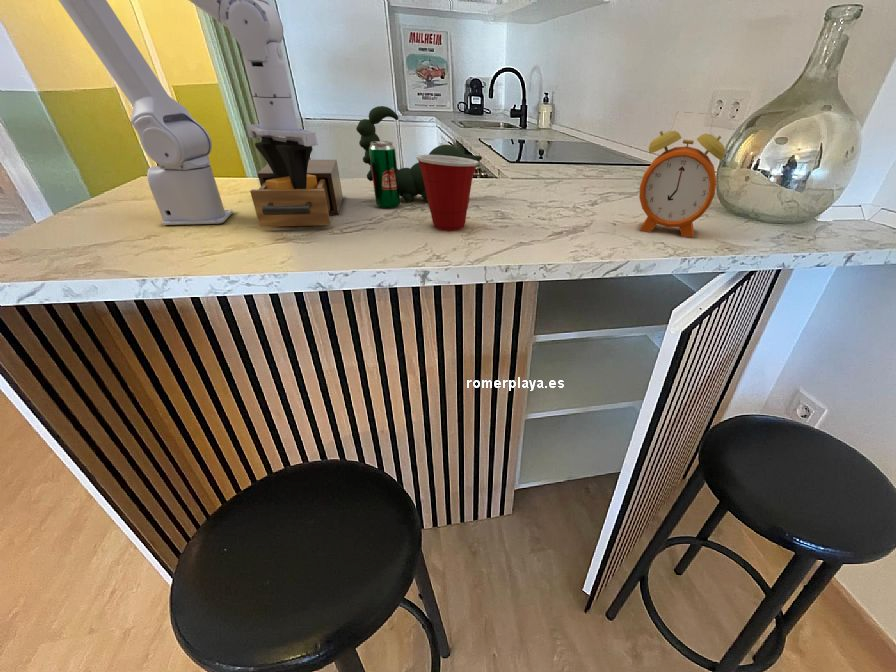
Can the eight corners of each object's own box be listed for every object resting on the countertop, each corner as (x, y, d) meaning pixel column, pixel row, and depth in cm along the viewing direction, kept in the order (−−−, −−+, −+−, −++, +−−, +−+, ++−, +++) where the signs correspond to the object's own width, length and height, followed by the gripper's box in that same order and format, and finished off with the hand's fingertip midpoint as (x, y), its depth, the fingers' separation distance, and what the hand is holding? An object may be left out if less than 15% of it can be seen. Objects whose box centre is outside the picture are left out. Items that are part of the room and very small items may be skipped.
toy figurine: (372, 212, 96) (487, 202, 98) (348, 110, 85) (479, 101, 87) (376, 201, 103) (483, 192, 106) (355, 106, 92) (475, 98, 94)
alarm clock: (631, 230, 87) (654, 111, 76) (635, 222, 92) (657, 109, 80) (701, 240, 84) (737, 116, 72) (702, 231, 89) (735, 114, 77)
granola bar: (282, 201, 76) (277, 182, 75) (269, 198, 78) (265, 180, 76) (319, 193, 82) (316, 175, 80) (307, 190, 83) (303, 173, 82)
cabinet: (338, 215, 87) (331, 173, 83) (268, 216, 85) (257, 173, 80) (343, 197, 99) (336, 159, 95) (281, 198, 96) (272, 159, 92)
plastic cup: (490, 227, 85) (491, 158, 78) (446, 239, 78) (443, 163, 71) (453, 215, 91) (450, 149, 84) (409, 225, 84) (403, 154, 77)
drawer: (327, 233, 75) (320, 196, 72) (254, 235, 73) (243, 197, 69) (335, 205, 90) (330, 174, 86) (274, 206, 87) (266, 174, 84)
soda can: (387, 210, 92) (379, 144, 85) (371, 205, 94) (362, 141, 87) (405, 206, 95) (399, 142, 88) (390, 201, 97) (383, 139, 90)
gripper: (219, 94, 71) (245, 185, 79) (281, 100, 66) (303, 197, 73) (259, 93, 76) (280, 179, 84) (319, 99, 71) (336, 190, 79)
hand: (293, 187), depth 79 cm, fingers closed on granola bar, 3 cm apart
